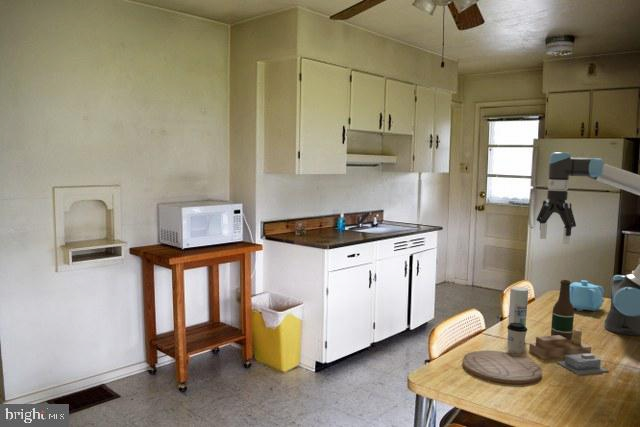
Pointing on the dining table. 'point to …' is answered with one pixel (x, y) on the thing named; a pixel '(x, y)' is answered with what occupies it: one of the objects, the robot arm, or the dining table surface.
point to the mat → (583, 370)
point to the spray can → (518, 305)
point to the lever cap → (582, 361)
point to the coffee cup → (516, 337)
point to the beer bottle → (563, 313)
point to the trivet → (502, 367)
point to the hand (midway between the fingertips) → (554, 241)
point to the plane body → (559, 346)
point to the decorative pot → (586, 296)
